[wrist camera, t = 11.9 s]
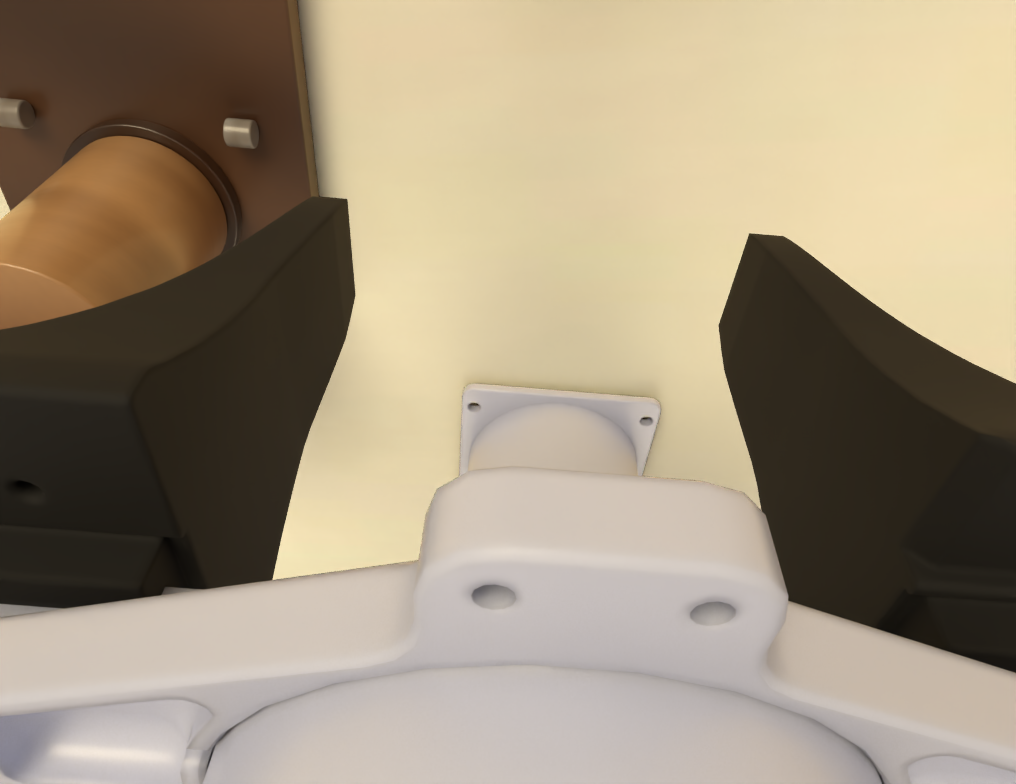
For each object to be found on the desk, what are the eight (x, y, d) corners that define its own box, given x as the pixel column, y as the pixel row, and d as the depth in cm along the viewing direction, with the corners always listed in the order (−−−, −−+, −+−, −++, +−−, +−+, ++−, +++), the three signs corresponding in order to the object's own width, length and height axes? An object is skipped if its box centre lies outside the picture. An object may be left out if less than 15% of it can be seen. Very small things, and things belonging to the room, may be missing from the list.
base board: (331, 295, 26) (319, 324, 25) (56, 272, 26) (30, 301, 25) (266, -280, 16) (240, -283, 15) (-188, -325, 16) (-256, -331, 15)
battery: (255, 280, 25) (167, 439, 19) (98, 266, 25) (-37, 423, 19) (225, 126, 21) (106, 266, 16) (41, 110, 21) (-146, 244, 16)
